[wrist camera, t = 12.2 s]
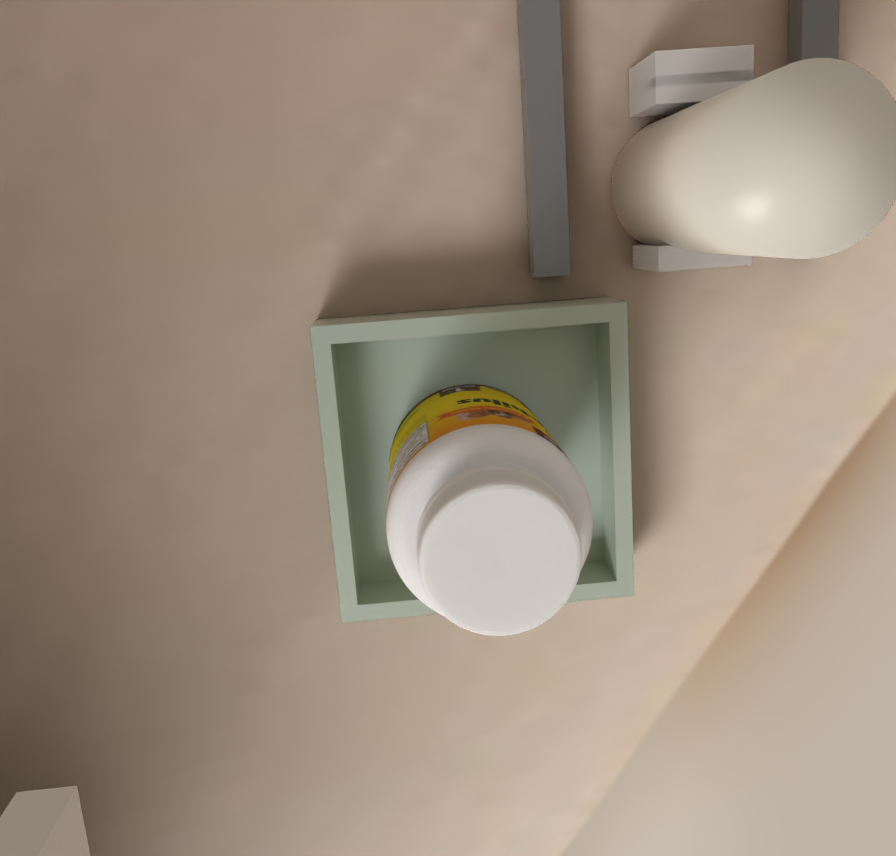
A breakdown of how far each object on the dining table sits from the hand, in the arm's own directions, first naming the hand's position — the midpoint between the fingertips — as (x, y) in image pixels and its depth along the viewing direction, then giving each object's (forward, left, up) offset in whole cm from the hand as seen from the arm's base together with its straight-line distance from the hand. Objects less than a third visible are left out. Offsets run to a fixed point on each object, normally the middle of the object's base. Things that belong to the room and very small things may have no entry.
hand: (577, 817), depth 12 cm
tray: (0, 0, -20) cm, 20 cm away
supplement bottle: (0, 0, -19) cm, 19 cm away
